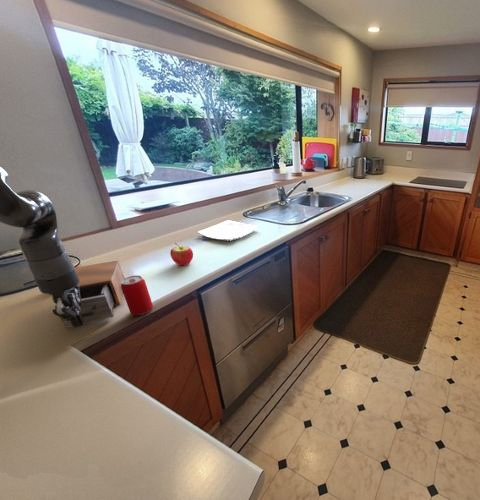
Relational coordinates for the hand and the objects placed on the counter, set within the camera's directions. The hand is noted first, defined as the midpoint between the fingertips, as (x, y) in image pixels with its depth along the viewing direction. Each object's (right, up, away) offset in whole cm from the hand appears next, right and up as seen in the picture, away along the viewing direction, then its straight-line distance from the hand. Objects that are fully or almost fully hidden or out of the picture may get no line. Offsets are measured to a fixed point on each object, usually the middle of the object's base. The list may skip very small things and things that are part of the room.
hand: (79, 324), depth 78 cm
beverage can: (+7, +1, +14) cm, 16 cm away
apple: (+3, +15, +44) cm, 47 cm away
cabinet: (-11, +4, +20) cm, 23 cm away
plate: (+9, +30, +78) cm, 84 cm away
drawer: (-6, +1, +11) cm, 13 cm away
